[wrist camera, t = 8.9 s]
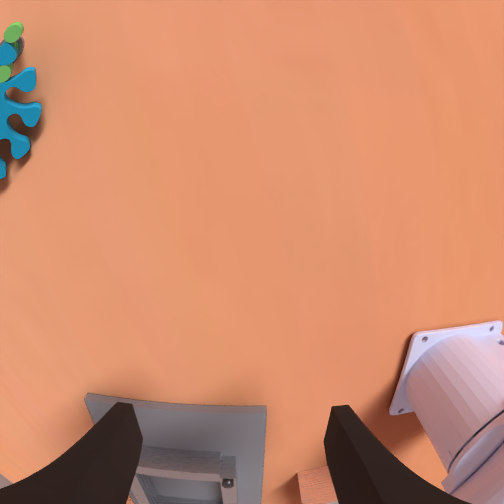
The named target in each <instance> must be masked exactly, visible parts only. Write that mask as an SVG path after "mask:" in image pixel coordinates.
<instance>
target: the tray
mask: <svg viewBox="0 0 504 504" xmlns="http://www.w3.org/2000/svg"><path fill="white" fill-rule="evenodd" d="M84 400H85V402H86V405H87V407H88V410H89V412H90V415H91V417H92V420H93V422H94V424H96V423H97V422H98V421H99V420H100V419H101V418H102V417H103V416H104V415H105V414H106V413H107V412H108V411H109V410H110V409H111V407H112V406H113V405H114V404H115V403H117V402H123V403H131V404H133V408H134V411H135V414H136V418H137V421H138V424H139V427H140V430H141V433H142V436H143V443H142V449H141V454H140V460H139V463H138V467H137V470H136V473H135V476H134V479H133V482H132V486H131V489H130V492H129V495H130V497H131V498H132V500H133V502H134V504H261V497H262V483H263V467H264V451H265V434H266V416H267V411H266V406H214V405H191V404H175V403H163V402H152V401H142V400H133V399H125V398H118V397H111V396H104V395H98V394H91V393H88V394H87V395H86V397H85V399H84Z"/></svg>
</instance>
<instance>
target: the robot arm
mask: <svg viewBox="0 0 504 504" xmlns="http://www.w3.org/2000/svg"><path fill="white" fill-rule="evenodd" d="M502 327H503V323H502V322H501V321H500V320H497V321H491V322H485V323H479V324H473V325H466V326H459V327H452V328H445V329H437V330H429V331H421V332H416V333H415V334H414V335H413V336H412V338H411V341H410V345H409V349H408V352H407V356H406V359H405V362H404V366H403V369H402V372H401V376H400V379H399V382H398V385H397V388H396V391H395V394H394V397H393V400H392V403H391V406H390V408H389V413H390V415H392V416H393V415H399V414H405V413H410V412H415V414H416V416H417V417H418V419H419V421H420V423H421V425H422V426H423V428H424V430H425V432H426V434H427V435H428V437H429V439H430V441H431V443H432V445H433V446H434V448H435V450H436V452H437V454H438V456H439V458H440V459H441V461H442V463H443V465H444V467H445V469H446V471H447V473H448V475H447V477H446V478H445V479H444V480H443V481H442V482H441V483H442V485H443V487H444V489H445V492H444V491H442V490H440V489H439V488H437V487H435V486H434V485H432V484H430V483H428V482H427V481H425V480H424V479H422V478H421V477H419V476H418V475H417V474H415V473H414V472H413V471H411V470H410V469H409V468H408V467H406V466H405V465H404V464H403V463H402V462H400V461H399V460H398V459H397V458H396V457H395V456H394V455H393V454H392V453H391V452H390V451H389V450H388V449H387V448H386V447H385V446H384V445H383V444H382V443H381V442H380V441H379V440H378V439H377V438H376V437H375V436H374V435H373V434H372V433H371V431H370V430H369V429H368V428H367V427H366V426H365V424H364V423H363V422H362V421H361V420H360V418H359V417H358V416H357V415H356V413H355V412H354V411H353V410H352V408H351V407H350V406H349V405H342V406H332V408H331V413H330V417H329V421H328V426H327V430H326V434H325V438H324V446H325V454H326V460H327V465H328V469H329V472H330V476H331V479H332V483H333V486H334V489H335V493H336V496H337V500H338V503H339V504H504V336H503V335H502V334H501V330H502ZM424 337H425V338H424ZM423 338H424V339H423ZM422 339H423V340H422ZM142 443H143V436H142V433H141V430H140V427H139V424H138V421H137V418H136V414H135V411H134V408H133V404H131V403H123V402H117V403H115V404H114V405H113V406H112V407H111V409H110V410H109V411H108V412H107V413H106V414H105V415H104V416H103V417H102V418H101V419H100V420H99V421H98V422H97V423H96V424H95V425H94V426H93V427H92V428H91V429H90V430H89V431H88V432H87V433H86V434H85V435H84V436H83V437H82V438H81V439H80V440H79V441H78V442H76V443H75V444H74V445H73V446H72V447H71V448H70V449H68V450H67V451H66V452H65V453H64V454H62V455H61V456H60V457H59V458H57V459H56V460H55V461H53V462H52V463H50V464H49V465H47V466H46V467H44V468H43V469H41V470H39V471H38V472H36V473H34V474H32V475H31V476H29V477H27V478H25V479H23V480H21V481H19V482H16V483H14V484H12V485H9V486H7V487H4V488H1V489H0V504H126V501H127V498H128V495H129V492H130V489H131V486H132V482H133V479H134V476H135V473H136V470H137V467H138V463H139V460H140V454H141V449H142Z"/></svg>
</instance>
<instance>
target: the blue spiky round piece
mask: <svg viewBox="0 0 504 504" xmlns="http://www.w3.org/2000/svg"><path fill="white" fill-rule="evenodd" d="M23 30H24V26H23V24H22V23H20V22H15V23H13V24H11V25H10V26H9V27H8V28H7V29H6V31H5V33H4V40H3V41H2V42H1V44H0V140H1V139H8V140H10V142H11V153H12V156H13V157H14V158H16V159H19V158H21V157H22V156H24V155H25V154H26V153H27V151H28V150H29V149H30V139H29V138H28V137H27V136H25V135H21V134H19V133H18V132H16V131H15V130H14V129H13V128H12V126H11V125H10V123H9V120H8V117H9V116H10V115H11V114H18V115H20V116H21V118H22V120H23V122H24V124H25V125H27V126H29V127H34V126H35V125H36V123H37V121H38V119H39V117H40V114H41V108H42V105H41V104H40V103H38V102H31V103H19V102H16V101H14V100H12V99H10V98H9V97H8V96H7V95H6V90H7V89H9V88H10V87H17V88H18V89H20V90H22V91H24V92H30V91H32V90H34V89H35V85H36V70H35V68H34V67H28V68H26V69H24V70H23V71H22V72H21V73H19V74H17V75H15V76H13V77H10V75H11V73H12V70H13V63H14V62H15V61H16V59H17V58H18V57H19V56H20V54H21V52H22V50H23V48H24V39H23V38H22V36H21V34H22V33H23ZM9 77H10V78H9ZM6 170H7V165H6V163H5V161H4V160H3V159H2V158H1V156H0V179H2V178H4V177H5V176H6Z"/></svg>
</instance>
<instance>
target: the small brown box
mask: <svg viewBox="0 0 504 504" xmlns="http://www.w3.org/2000/svg"><path fill="white" fill-rule="evenodd" d="M297 474H298V481H299V488H300V495H301V502H302V504H339V503H338V500H337V496H336V493H335V489H334V486H333V483H332V479H331V476H330V472H329V469H328V466H324V467H320V468H315V469H311V470H307V471H302V472H297Z"/></svg>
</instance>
